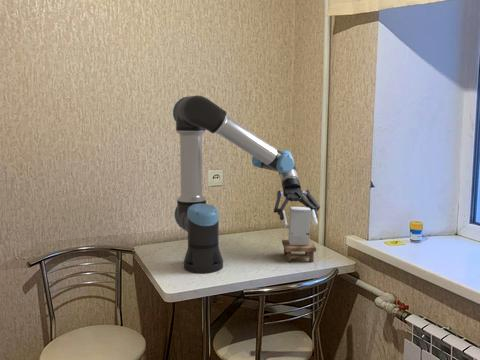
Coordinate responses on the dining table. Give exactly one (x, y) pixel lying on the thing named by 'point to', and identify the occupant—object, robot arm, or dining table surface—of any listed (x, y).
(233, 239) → the dining table surface
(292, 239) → the skincare box
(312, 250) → the stool
